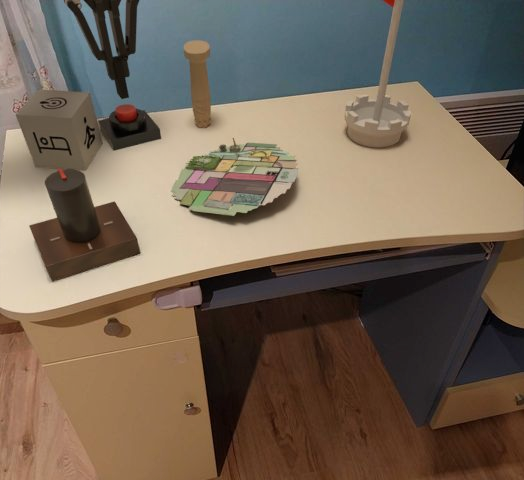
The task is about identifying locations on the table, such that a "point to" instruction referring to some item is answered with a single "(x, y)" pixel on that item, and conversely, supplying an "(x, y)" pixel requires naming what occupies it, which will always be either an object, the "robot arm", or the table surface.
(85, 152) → the icon cube
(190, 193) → the city model
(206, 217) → the table surface
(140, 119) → the button box
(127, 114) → the button
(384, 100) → the flag stand
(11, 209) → the table surface
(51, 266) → the panel
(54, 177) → the knob
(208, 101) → the handle
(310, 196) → the table surface
